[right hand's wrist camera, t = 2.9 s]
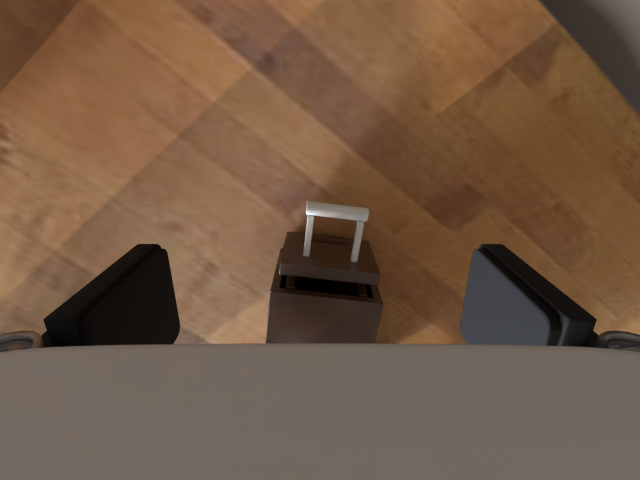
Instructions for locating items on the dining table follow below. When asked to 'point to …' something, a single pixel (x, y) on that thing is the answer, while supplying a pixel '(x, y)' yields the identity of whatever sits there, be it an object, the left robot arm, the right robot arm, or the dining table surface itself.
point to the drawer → (330, 256)
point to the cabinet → (321, 315)
